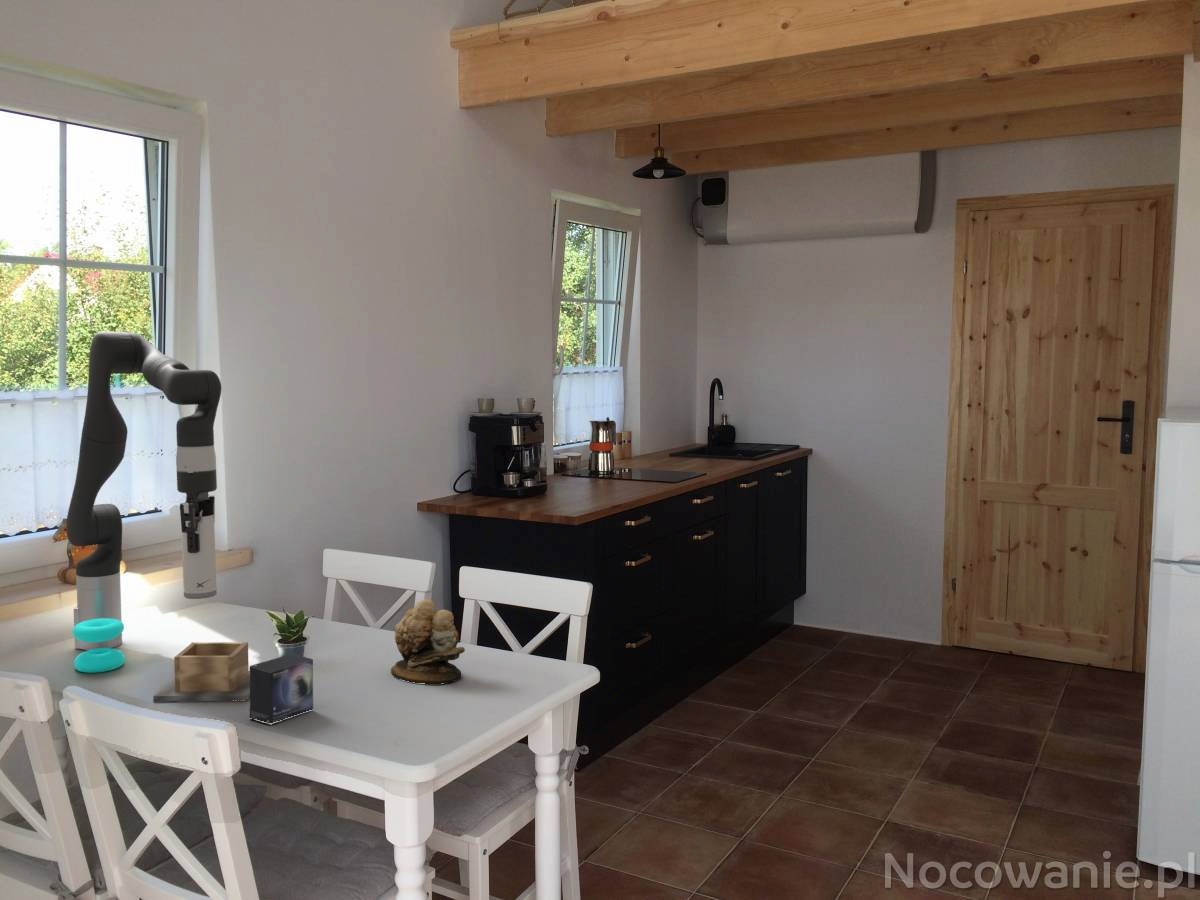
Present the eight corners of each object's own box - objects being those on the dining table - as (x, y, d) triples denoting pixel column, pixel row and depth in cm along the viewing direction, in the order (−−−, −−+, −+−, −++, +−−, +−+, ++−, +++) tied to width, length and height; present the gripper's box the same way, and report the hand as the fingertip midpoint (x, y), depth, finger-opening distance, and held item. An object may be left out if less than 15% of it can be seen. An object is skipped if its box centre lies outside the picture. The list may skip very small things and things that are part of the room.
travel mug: (206, 599, 205) (203, 501, 203) (177, 598, 206) (173, 500, 205) (224, 593, 211) (220, 497, 209) (195, 592, 212) (192, 496, 211)
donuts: (86, 616, 226) (131, 617, 226) (88, 660, 227) (133, 660, 227) (63, 628, 216) (110, 628, 216) (65, 674, 217) (112, 674, 217)
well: (153, 702, 200) (152, 661, 200) (181, 676, 216) (181, 638, 216) (246, 701, 201) (245, 660, 201) (267, 676, 217) (267, 638, 217)
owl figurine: (478, 675, 220) (478, 598, 219) (445, 691, 210) (445, 610, 208) (411, 662, 229) (411, 587, 227) (377, 676, 218) (376, 599, 217)
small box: (271, 727, 188) (270, 671, 187) (248, 720, 191) (247, 665, 190) (315, 710, 197) (314, 657, 196) (292, 704, 200) (291, 652, 199)
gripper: (190, 465, 213) (192, 544, 215) (164, 471, 199) (167, 556, 200) (226, 464, 214) (229, 543, 215) (203, 471, 200) (206, 555, 201)
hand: (199, 549), depth 208 cm, fingers closed on travel mug, 6 cm apart
